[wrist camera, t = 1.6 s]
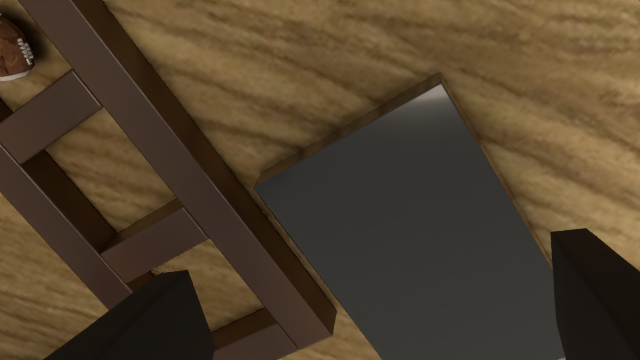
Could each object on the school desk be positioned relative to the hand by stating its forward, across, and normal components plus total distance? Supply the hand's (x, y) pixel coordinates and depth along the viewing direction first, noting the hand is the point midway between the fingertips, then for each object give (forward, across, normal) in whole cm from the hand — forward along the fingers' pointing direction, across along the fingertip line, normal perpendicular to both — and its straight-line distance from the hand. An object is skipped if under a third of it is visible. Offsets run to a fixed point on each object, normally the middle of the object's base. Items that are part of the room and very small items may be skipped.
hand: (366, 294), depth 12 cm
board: (+10, -1, +6) cm, 12 cm away
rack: (+10, +11, 0) cm, 15 cm away
